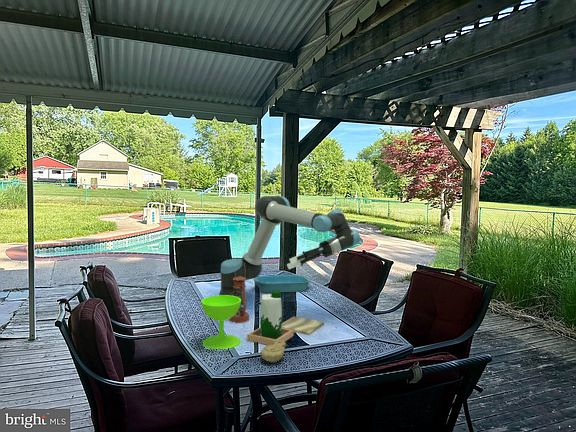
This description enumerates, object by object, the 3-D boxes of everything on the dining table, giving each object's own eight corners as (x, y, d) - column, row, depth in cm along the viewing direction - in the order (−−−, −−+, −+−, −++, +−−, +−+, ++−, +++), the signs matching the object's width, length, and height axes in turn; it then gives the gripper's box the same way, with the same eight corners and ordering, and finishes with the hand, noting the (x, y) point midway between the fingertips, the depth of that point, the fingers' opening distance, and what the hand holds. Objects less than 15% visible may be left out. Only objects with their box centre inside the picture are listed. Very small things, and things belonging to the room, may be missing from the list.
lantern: (252, 317, 193) (253, 257, 191) (243, 324, 183) (243, 261, 181) (234, 315, 196) (234, 256, 194) (225, 322, 187) (225, 259, 185)
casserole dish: (305, 283, 265) (305, 273, 264) (315, 292, 243) (315, 281, 243) (250, 286, 256) (250, 275, 256) (256, 295, 234) (256, 283, 234)
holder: (247, 340, 165) (247, 334, 164) (265, 329, 177) (265, 324, 177) (276, 347, 158) (276, 341, 158) (293, 335, 170) (293, 330, 170)
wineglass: (206, 354, 150) (205, 308, 149) (198, 339, 165) (197, 297, 164) (246, 347, 157) (246, 303, 156) (235, 334, 171) (235, 293, 170)
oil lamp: (284, 349, 156) (284, 336, 156) (291, 365, 142) (291, 351, 142) (257, 350, 154) (257, 338, 154) (262, 367, 140) (262, 353, 140)
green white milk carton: (282, 341, 164) (282, 294, 162) (260, 342, 163) (260, 294, 161) (280, 334, 172) (281, 289, 171) (260, 334, 171) (260, 289, 170)
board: (277, 328, 179) (277, 326, 178) (293, 318, 193) (293, 316, 193) (309, 335, 171) (309, 332, 171) (324, 324, 185) (324, 321, 185)
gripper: (338, 248, 175) (295, 267, 171) (327, 259, 199) (289, 275, 195) (331, 233, 177) (288, 251, 173) (321, 246, 201) (283, 262, 196)
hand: (289, 264), depth 184 cm, fingers open, 13 cm apart
